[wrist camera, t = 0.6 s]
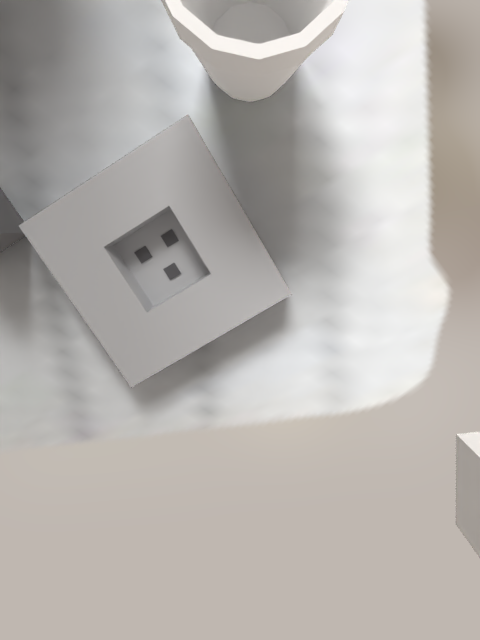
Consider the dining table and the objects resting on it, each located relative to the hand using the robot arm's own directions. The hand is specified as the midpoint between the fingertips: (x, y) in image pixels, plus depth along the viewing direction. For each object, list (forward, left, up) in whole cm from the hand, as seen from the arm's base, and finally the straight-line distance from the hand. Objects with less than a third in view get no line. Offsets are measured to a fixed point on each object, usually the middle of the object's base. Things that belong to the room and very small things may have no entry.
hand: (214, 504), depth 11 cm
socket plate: (-7, -2, -24) cm, 25 cm away
